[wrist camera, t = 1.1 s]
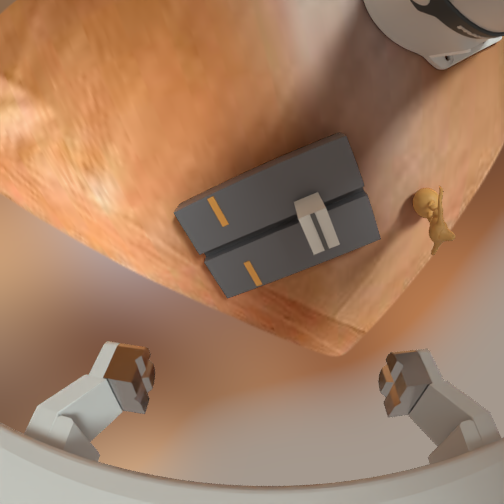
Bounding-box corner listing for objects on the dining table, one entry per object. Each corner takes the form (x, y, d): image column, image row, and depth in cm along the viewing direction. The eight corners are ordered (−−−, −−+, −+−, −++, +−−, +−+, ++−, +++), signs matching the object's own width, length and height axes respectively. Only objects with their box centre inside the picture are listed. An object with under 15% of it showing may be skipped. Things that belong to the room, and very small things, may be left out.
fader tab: (315, 187, 36) (326, 208, 30) (328, 219, 38) (340, 244, 32) (292, 197, 36) (298, 219, 31) (306, 228, 38) (313, 255, 33)
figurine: (429, 224, 39) (471, 268, 29) (393, 227, 40) (430, 275, 29) (434, 168, 35) (485, 200, 25) (395, 169, 36) (441, 202, 25)
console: (339, 132, 34) (346, 136, 31) (373, 228, 40) (381, 239, 37) (179, 204, 39) (173, 213, 36) (229, 285, 45) (227, 299, 42)
